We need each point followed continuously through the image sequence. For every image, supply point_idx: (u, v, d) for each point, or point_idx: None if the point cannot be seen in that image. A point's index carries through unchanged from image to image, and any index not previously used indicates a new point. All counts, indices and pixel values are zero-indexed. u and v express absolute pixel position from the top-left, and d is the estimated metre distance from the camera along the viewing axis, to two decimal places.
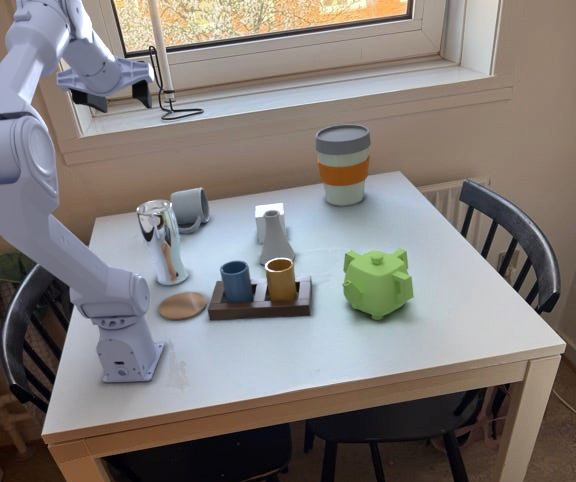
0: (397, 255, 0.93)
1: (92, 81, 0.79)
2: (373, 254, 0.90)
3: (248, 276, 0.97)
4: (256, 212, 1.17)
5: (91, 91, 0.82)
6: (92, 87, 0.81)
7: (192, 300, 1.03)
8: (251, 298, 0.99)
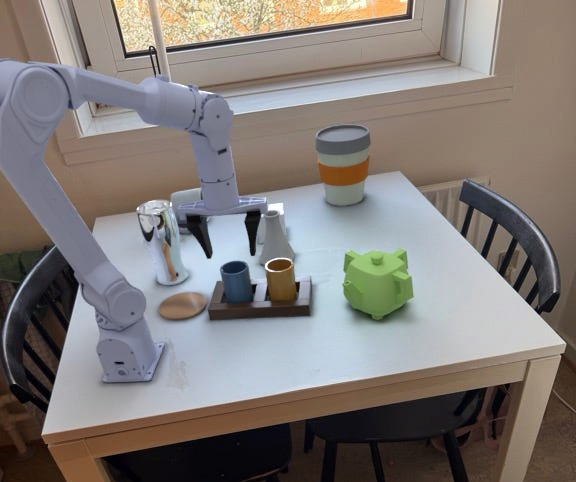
0: (397, 255, 0.93)
1: (215, 191, 0.85)
2: (373, 254, 0.90)
3: (248, 276, 0.97)
4: None
5: (208, 210, 0.87)
6: (211, 202, 0.86)
7: (192, 300, 1.03)
8: (251, 298, 0.99)
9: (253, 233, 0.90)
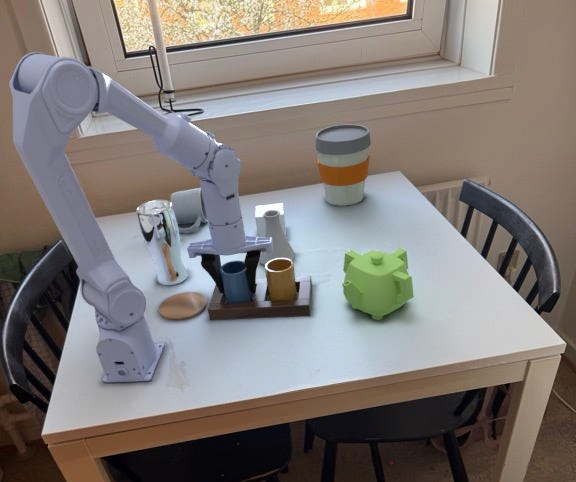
0: (397, 255, 0.93)
1: (223, 233, 0.89)
2: (373, 254, 0.90)
3: None
4: (256, 212, 1.17)
5: (216, 250, 0.92)
6: (220, 243, 0.91)
7: (192, 300, 1.03)
8: (251, 298, 0.99)
9: (253, 271, 0.95)
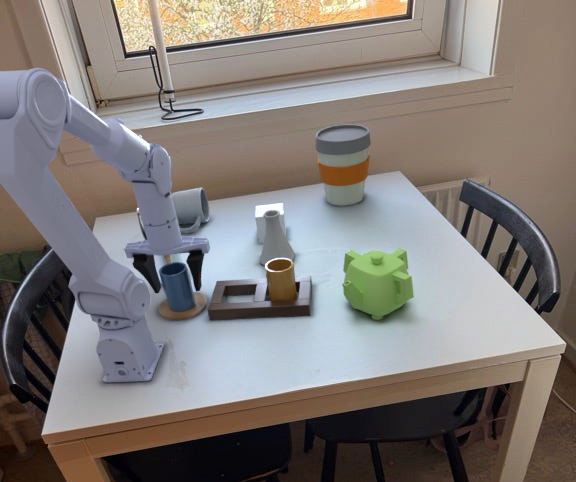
0: (397, 255, 0.93)
1: (157, 234, 0.90)
2: (373, 254, 0.90)
3: (187, 277, 0.98)
4: (256, 212, 1.17)
5: (152, 250, 0.93)
6: (154, 243, 0.91)
7: None
8: (191, 299, 1.00)
9: (196, 271, 0.95)
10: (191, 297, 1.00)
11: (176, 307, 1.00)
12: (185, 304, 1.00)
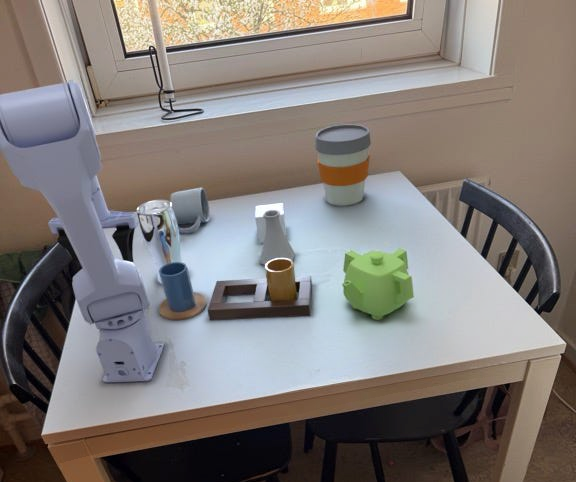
0: (397, 255, 0.93)
1: None
2: (373, 254, 0.90)
3: (187, 277, 0.98)
4: (256, 212, 1.17)
5: None
6: None
7: None
8: (191, 299, 1.00)
9: (124, 247, 0.91)
10: (191, 297, 1.00)
11: (176, 307, 1.00)
12: (185, 304, 1.00)
